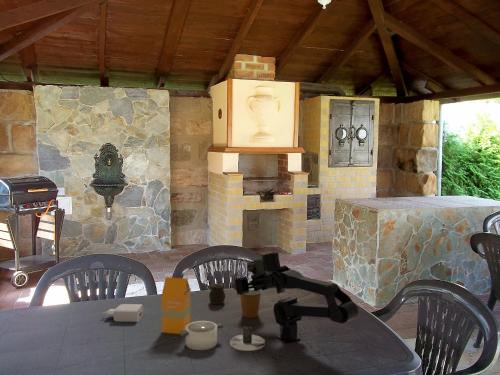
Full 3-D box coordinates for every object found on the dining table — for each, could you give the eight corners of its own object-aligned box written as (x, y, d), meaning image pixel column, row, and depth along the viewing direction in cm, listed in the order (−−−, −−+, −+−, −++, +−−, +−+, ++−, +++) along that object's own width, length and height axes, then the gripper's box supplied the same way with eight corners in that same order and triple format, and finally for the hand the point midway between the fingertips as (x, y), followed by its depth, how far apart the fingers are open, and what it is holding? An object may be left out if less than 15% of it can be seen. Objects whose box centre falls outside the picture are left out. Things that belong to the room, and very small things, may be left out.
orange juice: (184, 334, 168) (183, 281, 166) (161, 332, 170) (161, 280, 168) (191, 326, 176) (190, 275, 174) (169, 324, 177) (169, 274, 176)
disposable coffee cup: (261, 319, 183) (262, 290, 182) (238, 319, 184) (238, 290, 182) (261, 311, 193) (262, 283, 192) (239, 310, 193) (239, 283, 192)
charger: (107, 314, 189) (143, 314, 188) (99, 322, 180) (137, 323, 179) (107, 302, 188) (143, 303, 188) (99, 310, 179) (137, 311, 179)
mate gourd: (208, 300, 206) (208, 278, 205) (224, 300, 207) (225, 278, 206) (209, 306, 198) (210, 283, 198) (226, 305, 200) (227, 282, 199)
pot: (228, 344, 160) (228, 327, 159) (187, 354, 152) (187, 336, 151) (214, 333, 169) (214, 317, 169) (174, 342, 161) (174, 325, 161)
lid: (271, 347, 159) (271, 330, 158) (240, 355, 152) (240, 337, 152) (253, 334, 169) (253, 318, 169) (223, 341, 163) (223, 325, 162)
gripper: (281, 257, 178) (254, 261, 189) (247, 262, 165) (220, 267, 176) (286, 285, 176) (258, 288, 187) (252, 293, 163) (224, 296, 174)
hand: (241, 284), depth 181 cm, fingers open, 9 cm apart
